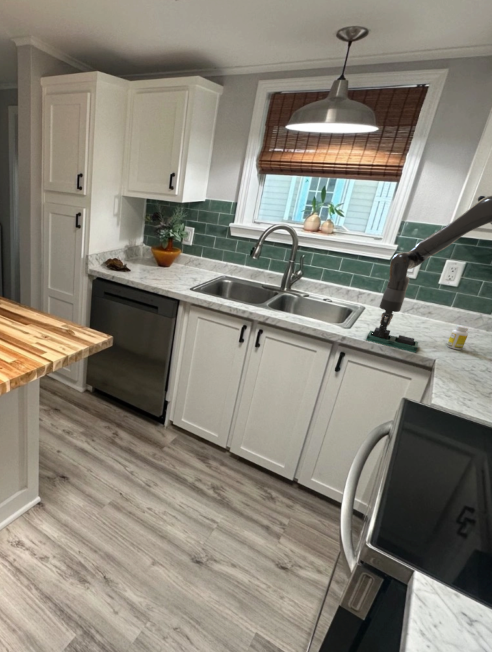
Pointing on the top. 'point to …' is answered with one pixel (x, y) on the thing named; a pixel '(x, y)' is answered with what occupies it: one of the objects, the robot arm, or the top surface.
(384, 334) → the far pad
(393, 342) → the base board
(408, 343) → the near pad
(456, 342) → the supplement bottle
